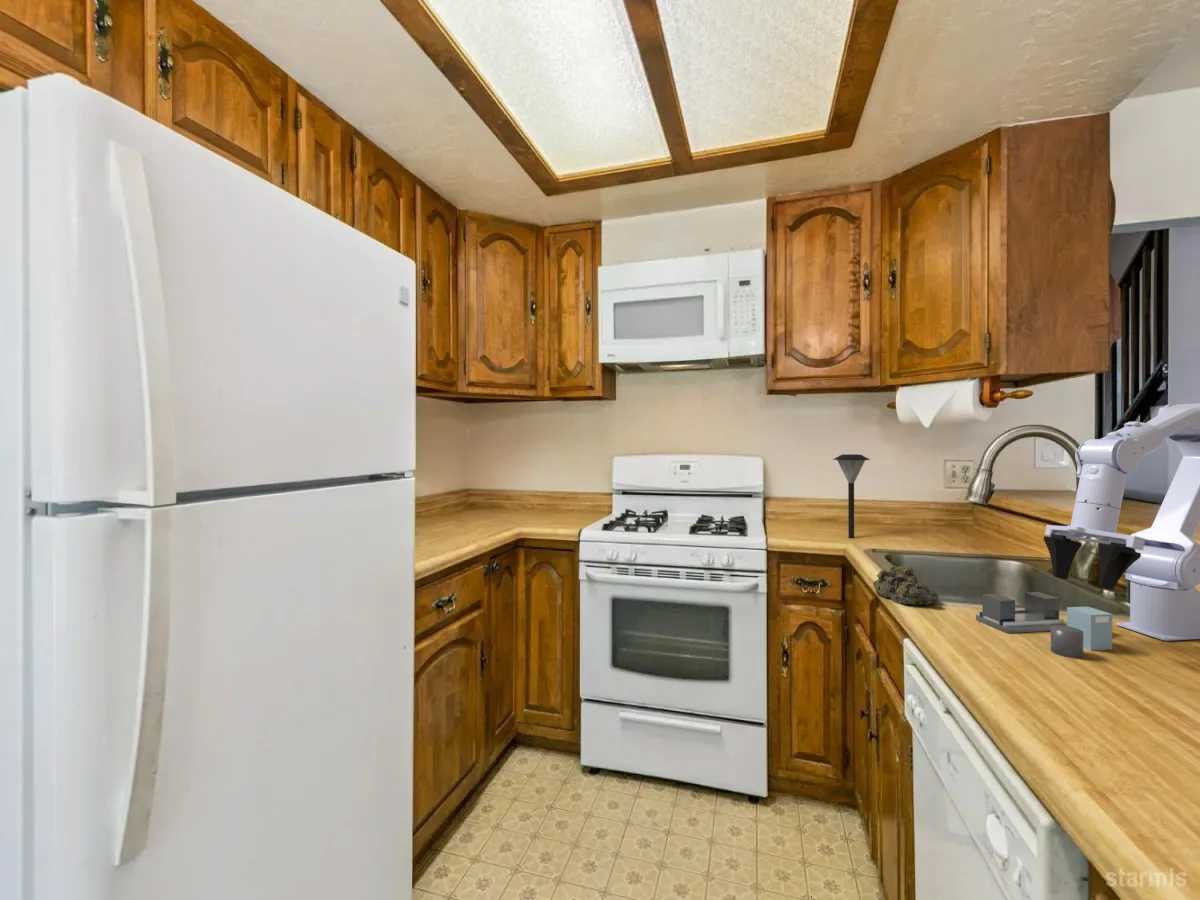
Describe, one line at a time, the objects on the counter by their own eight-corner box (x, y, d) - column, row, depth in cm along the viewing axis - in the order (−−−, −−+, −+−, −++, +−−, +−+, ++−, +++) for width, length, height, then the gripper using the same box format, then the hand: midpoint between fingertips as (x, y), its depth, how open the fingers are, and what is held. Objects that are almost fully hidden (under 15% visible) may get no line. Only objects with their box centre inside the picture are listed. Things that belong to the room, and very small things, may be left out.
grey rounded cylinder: (1065, 647, 87) (1065, 624, 87) (1090, 657, 83) (1090, 633, 83) (1044, 649, 87) (1044, 625, 87) (1067, 659, 83) (1067, 634, 83)
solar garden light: (831, 534, 191) (831, 454, 191) (867, 535, 187) (867, 454, 186) (834, 540, 180) (833, 455, 179) (873, 542, 176) (873, 455, 175)
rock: (889, 588, 124) (859, 572, 121) (922, 562, 119) (892, 545, 116) (916, 633, 113) (884, 617, 110) (955, 606, 108) (922, 589, 105)
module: (1087, 640, 90) (1087, 606, 90) (1112, 649, 86) (1112, 614, 86) (1066, 641, 90) (1066, 607, 90) (1091, 650, 86) (1091, 615, 86)
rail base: (1031, 617, 102) (1031, 589, 102) (1067, 630, 95) (1067, 600, 95) (975, 619, 101) (975, 592, 100) (1007, 633, 94) (1007, 603, 93)
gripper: (1036, 498, 96) (1022, 569, 95) (1123, 504, 81) (1107, 588, 80) (1070, 506, 96) (1056, 577, 96) (1162, 514, 82) (1146, 598, 81)
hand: (1081, 583), depth 88 cm, fingers open, 7 cm apart
